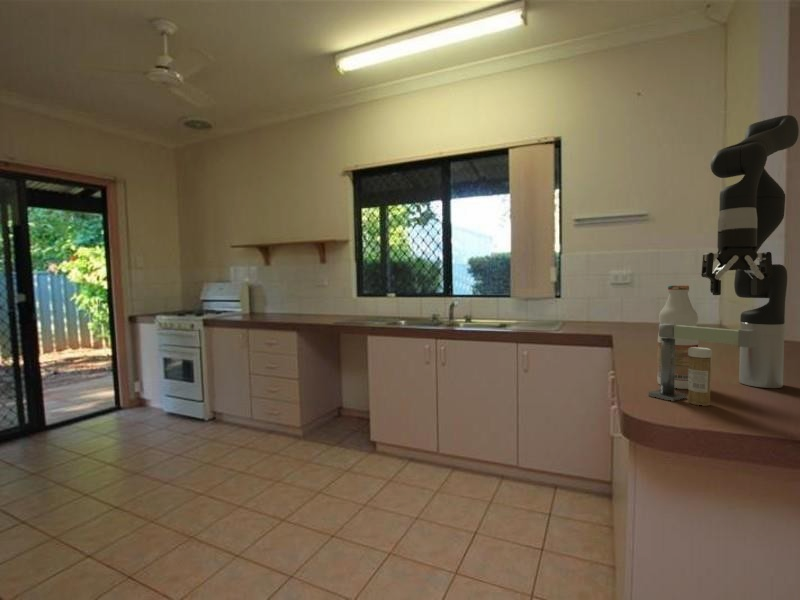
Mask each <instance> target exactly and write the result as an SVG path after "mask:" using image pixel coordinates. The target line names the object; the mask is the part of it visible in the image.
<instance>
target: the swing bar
mask: <svg viewBox="0 0 800 600" xmlns="http://www.w3.org/2000/svg"><path fill="white" fill-rule="evenodd" d="M658 333H659V336H660V337H667V338H680V339H689V340H698V342H708V343H719V344H724V345H725V344H726V345H727V344H729V345H736V346H737V347H739V348H740V347H747V348H751V347H755V346H756V334H757V330H751V329H743V330H740V329H730V328H717V327H706V326H697V325H696V326H685V325H676V324H660V323H659V324H658Z"/></svg>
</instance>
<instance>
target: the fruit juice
mask: <svg viewBox="0 0 800 600" xmlns="http://www.w3.org/2000/svg"><path fill="white" fill-rule="evenodd" d="M667 291H668V296H667V299H666V300H665V304H664V306H663V307H662V309H661V310H659V311H660V312H659V313H658V321H659V324H676V325H685V326H697V324H698V321H699V315H698V312H697V311H696V310H695V308H694V307H693V305H692V302H691V300H690V298H689V297H690V296H689V294H688V293H689V291H690V286H689V285H687V284H686V285H675V284H674V285H667ZM661 338H667V337H660V336H659V332H658V334H657V368H656V369H657V370H656V372H657V374H656V375H657V377H656V379H657V383H658V384H659V385H660V384H661ZM691 347H699V341H698V340H689V339H680V338H675V384H674V389H676V388H677V389H679V390H689V389H688V373H689V355H688V349H689V348H691Z"/></svg>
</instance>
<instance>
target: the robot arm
mask: <svg viewBox="0 0 800 600" xmlns="http://www.w3.org/2000/svg"><path fill="white" fill-rule="evenodd" d="M798 123H799V122H798V120H797V118H796V117H795V116H793V115H790V114H787V115H786V114H785V115H780V116H777V117H771V118H767V119H763V120H761V121H756V122H754V123H752V124H750V125H748V127H747V128H746V130H745V135H744V139H742V140H741V141H740V142H737V143H735V144H732V145H729V146H726V147H724V148H722V149H719V150H718V151H717V152H716V153H715V154H714V155H713V157H712V158H711V160H710V161H711V162H710V170H711V172H712V174H713V175H714V176H715V177H717V178H721V179H728V178H732V177H734V178H735V177H738V176H743V175H744V176H743V177H742V179H741V180H740V181H738V182H735V183H733V184H731V185H727V186H725V187H724V188H722V189H721V190H720V192H719V205H718V206H719V209H718V214H719V215H718V219H717V253H713V252H706V253H703V254H702V261H701V262H702V263H701V277H702V278H707V279H708V280H709V281H710V282H709V283H710V286H709V288H710V289H709V290H710V293H712V296H720V295H721V293H722V280H721V277H723V275H724V274H726V273H727V272H728V271H735V274H734V283H733V286H734V292H735V295H736V296H737V297H739V298H746V299H747V298H748V299H768V302H767V303H766V304H764V305H762V306H759V307H757V308H753V309H748V310H745V311H743V312H741V314H740V324H739V330H743V329H751V330H757V334H756V346H755V347H751V348H747V347H739V362H738V363H739V369H738V370H739V371H738V382H739V383H740V384H743V385H746V386H749V387H750V386H751V387H757V388H765V389H766V388H767V389H779V388H783V387H784V386H783V383H784V354H785V353H784V352H785V351H784V350H785V349H784V348H785V322H786V321H785V318H786V317H785V316H786V315H785V314H786V312H785V311H786V295H787V288H788V287H787V286H788V271H787V270H788V269H786V266H785V265H784V264H779V263H778V264H776V263H775V264H773V256H772V252H771V251H765V252H758V251H759V250H760V248H761V247H762V245H763V244H764V243H765V241H766V240H767V239H768V238H770V236H771V235H772V234H773V233H774V232H775V231H776V230H777V228H778V227H779V226H780V224H782V222H783V219H784V218H785V212H786V211H785V210H786V193H785V191H784V190H783V187H782V186H781V185H780V184H779V183H778V182H777V181H776V180H775V179H774V178H773V177H772V176H771V175H770V174H769V172H768V171H767V170H766V169H765V166H766V164H767V160H768V157H769V156H772V155H774V153H777V152H779V151H784V150H788V149H789V148H792V147H793V146H795V144H796V143H797V141H798V139H799V133H800V131H799V124H798ZM716 260H717V262H718V264H717V266H716V267H715V268H714V262H715V261H716ZM756 260H757V261H758V262H759V263H758V264H756V263H755V261H756Z"/></svg>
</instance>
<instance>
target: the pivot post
mask: <svg viewBox="0 0 800 600" xmlns="http://www.w3.org/2000/svg"><path fill="white" fill-rule="evenodd" d="M674 384H675V338H661V384H659V385H660V387H659V389H655V390H652V391H651V390H650V391H648V397H650V398H651V397H652V398H655V397H656V399H659V398H660V400H663V399H664V401H668V400H671V401H670V402H672V401H674V402H676V401H675V400H678V401H680V400H679V399H681V400H684V399H687V393H683V392H679V391H675V388H674ZM683 398H684V399H683Z"/></svg>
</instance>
